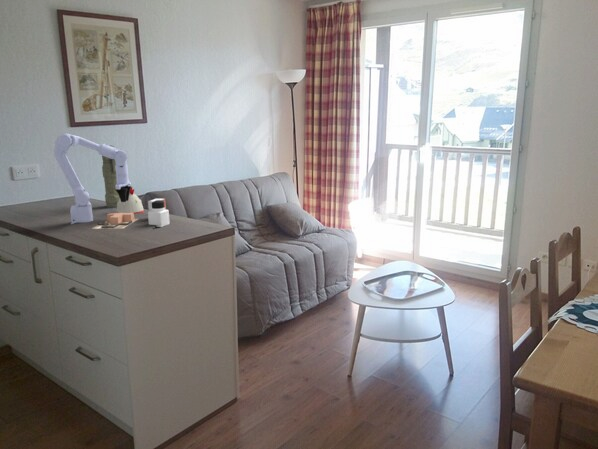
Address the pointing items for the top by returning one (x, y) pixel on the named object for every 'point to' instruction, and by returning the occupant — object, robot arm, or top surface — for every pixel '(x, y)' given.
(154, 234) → the top surface
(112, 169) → the olive green tall block
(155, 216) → the medicine bottle
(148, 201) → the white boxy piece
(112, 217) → the t block
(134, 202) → the kitchen timer
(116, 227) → the board
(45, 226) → the top surface
